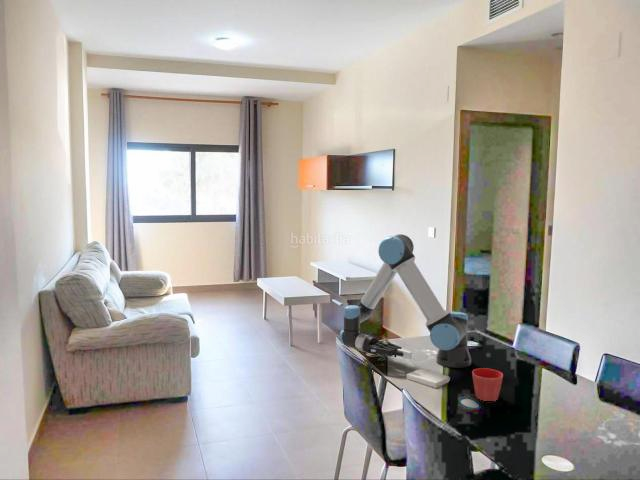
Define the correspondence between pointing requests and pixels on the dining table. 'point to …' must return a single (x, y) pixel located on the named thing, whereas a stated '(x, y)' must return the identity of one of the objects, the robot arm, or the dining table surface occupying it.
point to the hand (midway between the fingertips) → (410, 355)
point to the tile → (428, 378)
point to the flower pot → (487, 383)
